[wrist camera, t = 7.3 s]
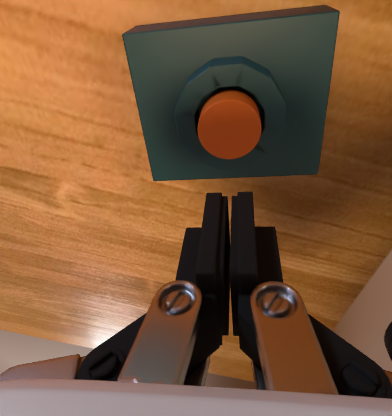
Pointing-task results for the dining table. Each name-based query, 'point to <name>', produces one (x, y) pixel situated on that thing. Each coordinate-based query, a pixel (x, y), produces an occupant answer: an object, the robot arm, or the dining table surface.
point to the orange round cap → (229, 124)
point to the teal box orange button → (235, 88)
